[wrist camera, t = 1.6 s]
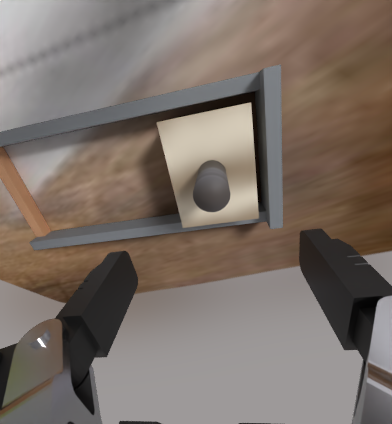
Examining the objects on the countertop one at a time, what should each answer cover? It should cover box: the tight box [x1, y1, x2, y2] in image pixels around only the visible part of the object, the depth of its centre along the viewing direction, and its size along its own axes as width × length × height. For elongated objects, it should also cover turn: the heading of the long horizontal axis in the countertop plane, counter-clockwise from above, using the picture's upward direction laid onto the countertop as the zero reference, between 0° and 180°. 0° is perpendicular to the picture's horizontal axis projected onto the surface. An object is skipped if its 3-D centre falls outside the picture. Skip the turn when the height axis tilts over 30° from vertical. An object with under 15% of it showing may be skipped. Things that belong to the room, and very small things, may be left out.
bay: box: [0, 65, 283, 250], centre depth 27 cm, size 17×38×5 cm, turn 101°
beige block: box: [157, 103, 259, 228], centre depth 22 cm, size 12×9×12 cm
